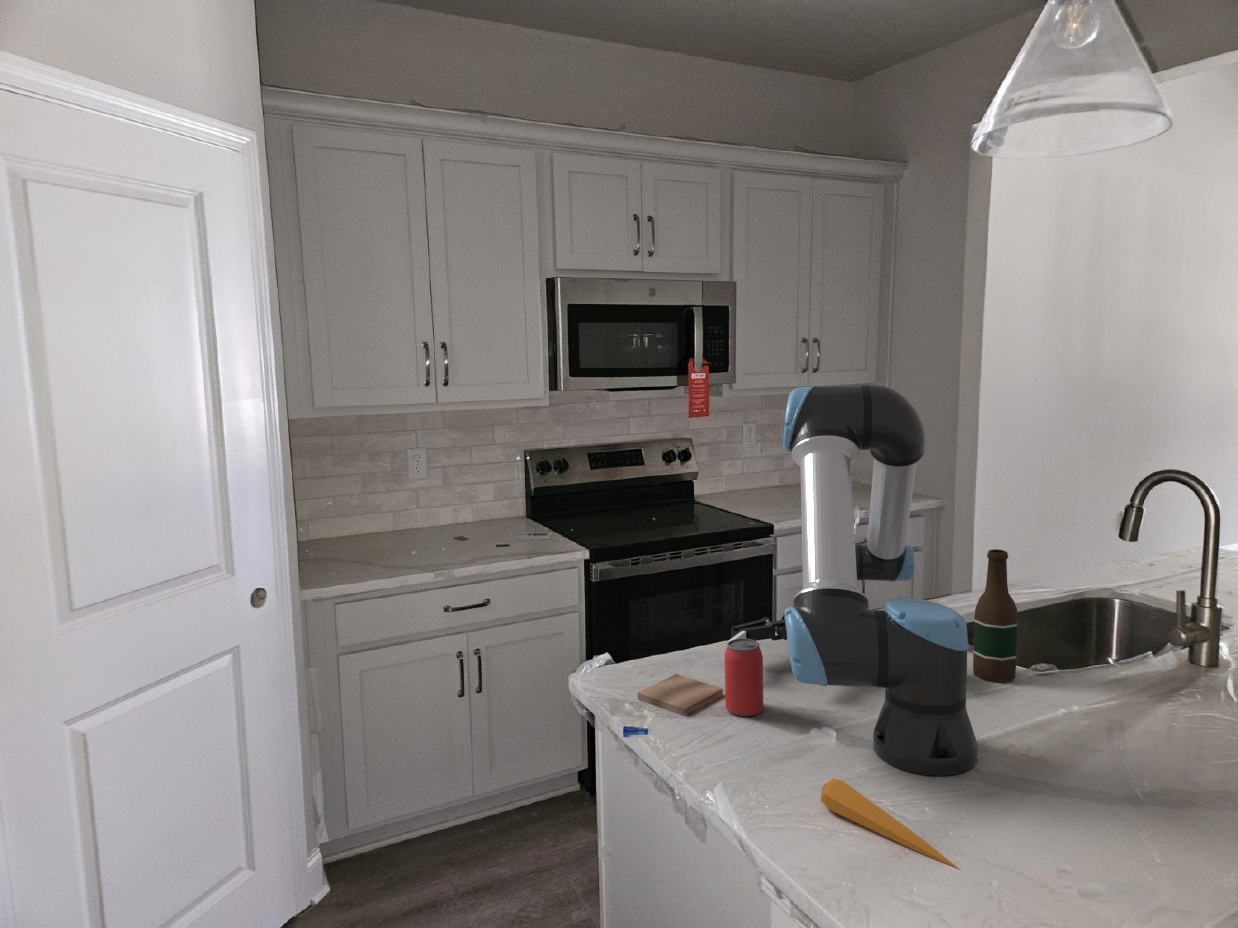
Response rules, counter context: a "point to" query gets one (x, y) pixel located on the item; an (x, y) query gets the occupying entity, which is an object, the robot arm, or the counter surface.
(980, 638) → the beer bottle
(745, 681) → the beer can
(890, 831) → the carrot
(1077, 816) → the counter surface
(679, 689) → the walnut board
